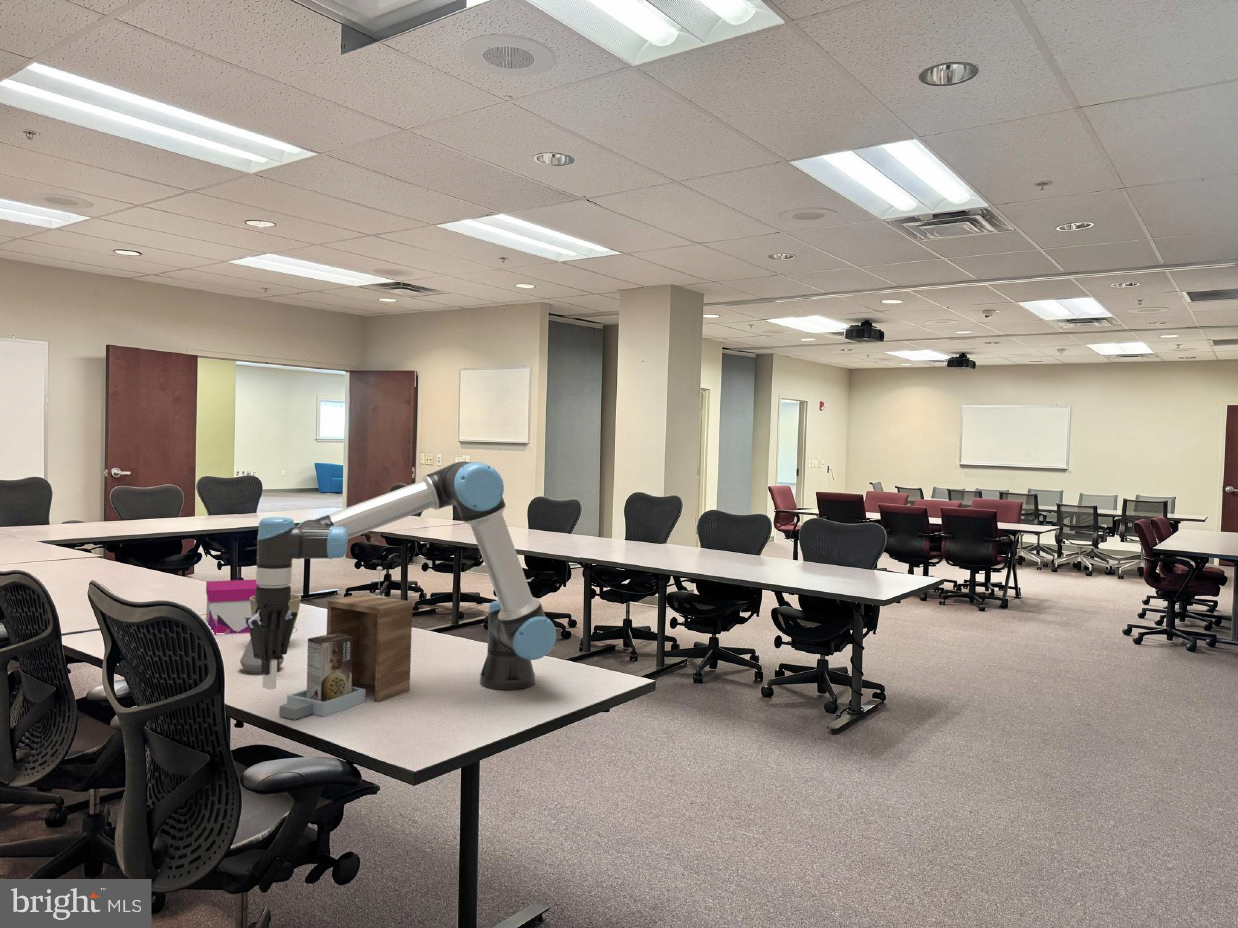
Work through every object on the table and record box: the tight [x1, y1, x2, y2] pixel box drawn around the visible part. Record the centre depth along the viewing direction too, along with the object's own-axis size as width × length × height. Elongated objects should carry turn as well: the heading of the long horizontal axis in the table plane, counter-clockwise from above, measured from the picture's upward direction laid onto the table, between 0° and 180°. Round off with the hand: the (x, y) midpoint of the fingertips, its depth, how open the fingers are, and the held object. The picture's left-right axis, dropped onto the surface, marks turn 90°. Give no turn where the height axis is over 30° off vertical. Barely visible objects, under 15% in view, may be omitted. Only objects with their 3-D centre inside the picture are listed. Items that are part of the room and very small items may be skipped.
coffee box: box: [306, 633, 353, 702], centre depth 211 cm, size 9×6×16 cm
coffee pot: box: [239, 626, 298, 675], centre depth 237 cm, size 21×12×15 cm, turn 52°
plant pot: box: [250, 593, 302, 636], centre depth 266 cm, size 15×15×16 cm
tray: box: [278, 686, 366, 721], centre depth 208 cm, size 12×20×3 cm, turn 154°
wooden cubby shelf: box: [326, 593, 413, 703], centre depth 223 cm, size 18×12×24 cm, turn 64°
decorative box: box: [205, 579, 259, 636], centre depth 291 cm, size 19×19×15 cm
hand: (269, 687), depth 194 cm, fingers closed
